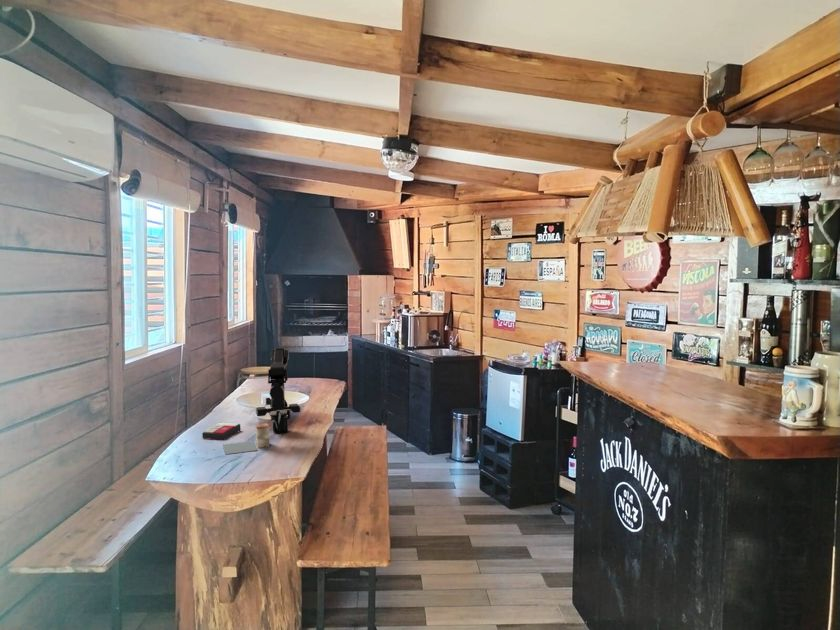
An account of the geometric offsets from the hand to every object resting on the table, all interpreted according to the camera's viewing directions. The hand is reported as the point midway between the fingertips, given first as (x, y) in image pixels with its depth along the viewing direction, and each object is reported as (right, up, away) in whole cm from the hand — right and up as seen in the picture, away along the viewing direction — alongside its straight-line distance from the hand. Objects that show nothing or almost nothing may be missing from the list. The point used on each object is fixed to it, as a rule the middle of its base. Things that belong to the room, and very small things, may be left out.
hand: (278, 428), depth 238 cm
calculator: (-30, -6, +14) cm, 34 cm away
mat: (-15, -7, -6) cm, 18 cm away
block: (-6, -7, -2) cm, 10 cm away
